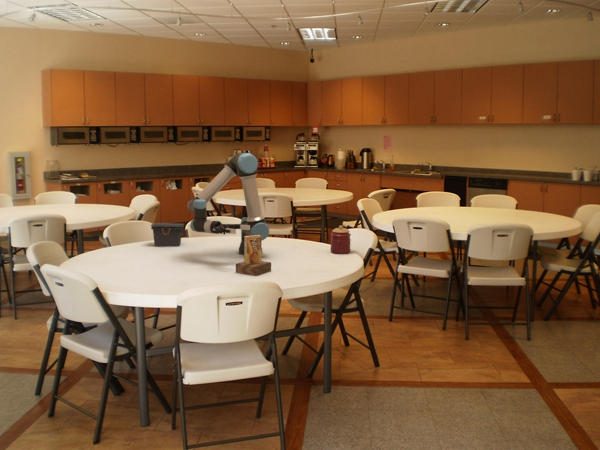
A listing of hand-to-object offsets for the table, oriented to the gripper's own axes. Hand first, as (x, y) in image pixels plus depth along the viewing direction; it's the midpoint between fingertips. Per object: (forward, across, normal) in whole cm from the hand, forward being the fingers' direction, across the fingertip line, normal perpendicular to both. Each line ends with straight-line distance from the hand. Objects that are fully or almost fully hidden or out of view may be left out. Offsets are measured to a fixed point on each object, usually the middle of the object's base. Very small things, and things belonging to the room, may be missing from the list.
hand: (242, 229), depth 357 cm
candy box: (+11, -7, +17) cm, 22 cm away
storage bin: (-82, +24, +21) cm, 88 cm away
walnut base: (+11, -6, +22) cm, 26 cm away
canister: (+26, +69, +24) cm, 78 cm away
